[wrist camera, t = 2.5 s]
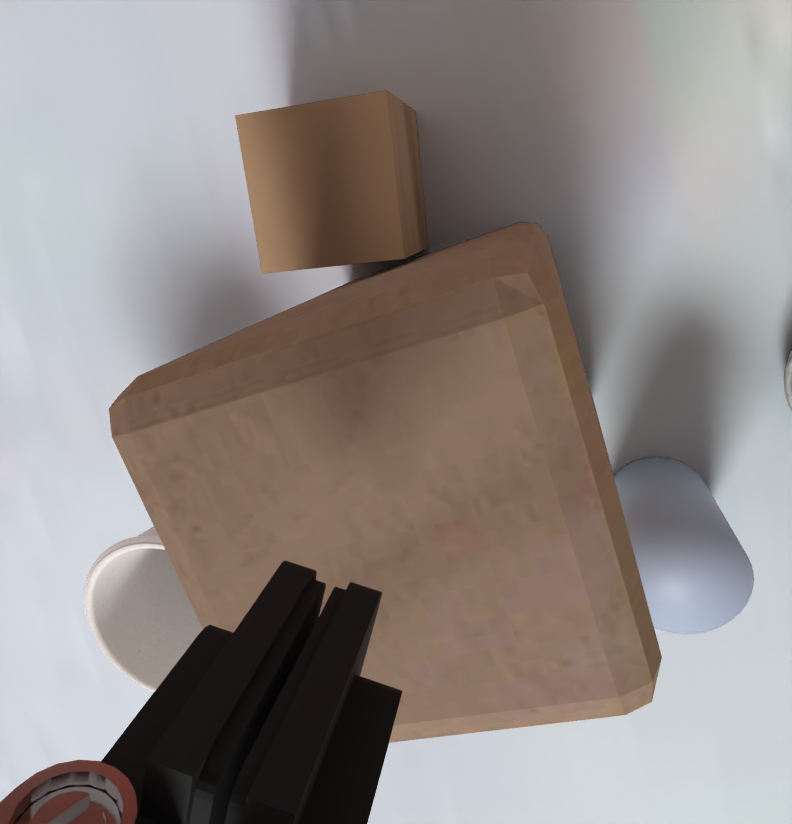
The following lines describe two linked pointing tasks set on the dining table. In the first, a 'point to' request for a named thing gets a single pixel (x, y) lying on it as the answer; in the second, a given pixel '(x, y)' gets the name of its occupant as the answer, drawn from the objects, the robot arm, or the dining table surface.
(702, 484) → the bluegrey post
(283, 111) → the walnut cube
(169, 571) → the dixie cup
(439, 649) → the block
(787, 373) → the ceramic mug
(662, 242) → the dining table surface
